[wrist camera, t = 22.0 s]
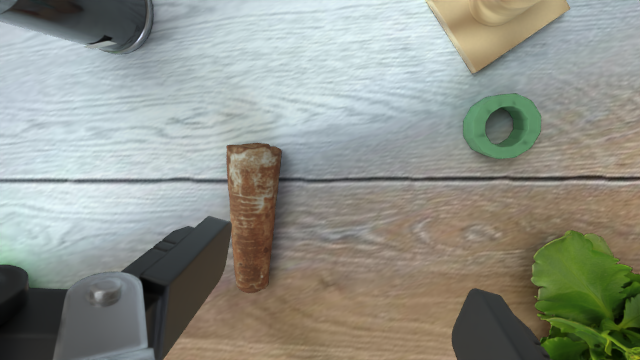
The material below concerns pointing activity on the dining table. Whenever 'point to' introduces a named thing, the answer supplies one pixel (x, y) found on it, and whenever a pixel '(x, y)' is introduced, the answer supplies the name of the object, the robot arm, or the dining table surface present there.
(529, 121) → the ring
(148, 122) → the dining table surface
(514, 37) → the peg stand
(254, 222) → the brown piece
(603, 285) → the potted flower
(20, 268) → the robot arm
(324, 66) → the dining table surface
